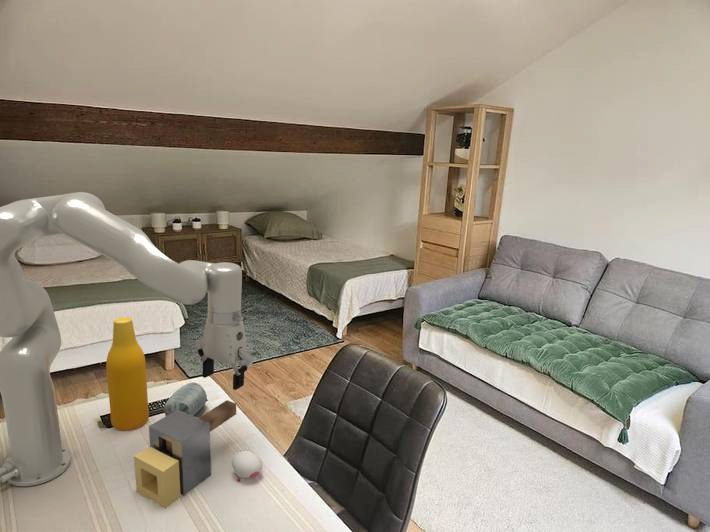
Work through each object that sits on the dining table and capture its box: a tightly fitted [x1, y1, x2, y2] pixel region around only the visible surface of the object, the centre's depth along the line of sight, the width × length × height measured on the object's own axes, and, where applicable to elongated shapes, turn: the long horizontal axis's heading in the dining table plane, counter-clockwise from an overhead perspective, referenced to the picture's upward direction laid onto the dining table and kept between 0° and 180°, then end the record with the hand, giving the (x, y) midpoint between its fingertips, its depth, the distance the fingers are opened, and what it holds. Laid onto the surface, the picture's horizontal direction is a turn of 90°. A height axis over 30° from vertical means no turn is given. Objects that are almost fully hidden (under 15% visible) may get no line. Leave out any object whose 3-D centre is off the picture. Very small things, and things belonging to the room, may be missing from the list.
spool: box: [163, 382, 208, 417], centre depth 133 cm, size 14×10×10 cm
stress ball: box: [231, 450, 263, 483], centre depth 112 cm, size 8×8×7 cm
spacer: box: [133, 446, 181, 509], centre depth 104 cm, size 4×9×9 cm, turn 61°
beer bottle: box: [105, 316, 150, 432], centre depth 126 cm, size 9×9×29 cm
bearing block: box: [148, 410, 212, 497], centre depth 109 cm, size 8×10×14 cm
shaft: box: [166, 399, 237, 453], centre depth 114 cm, size 19×3×3 cm, turn 151°
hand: (223, 381), depth 118 cm, fingers open, 9 cm apart
